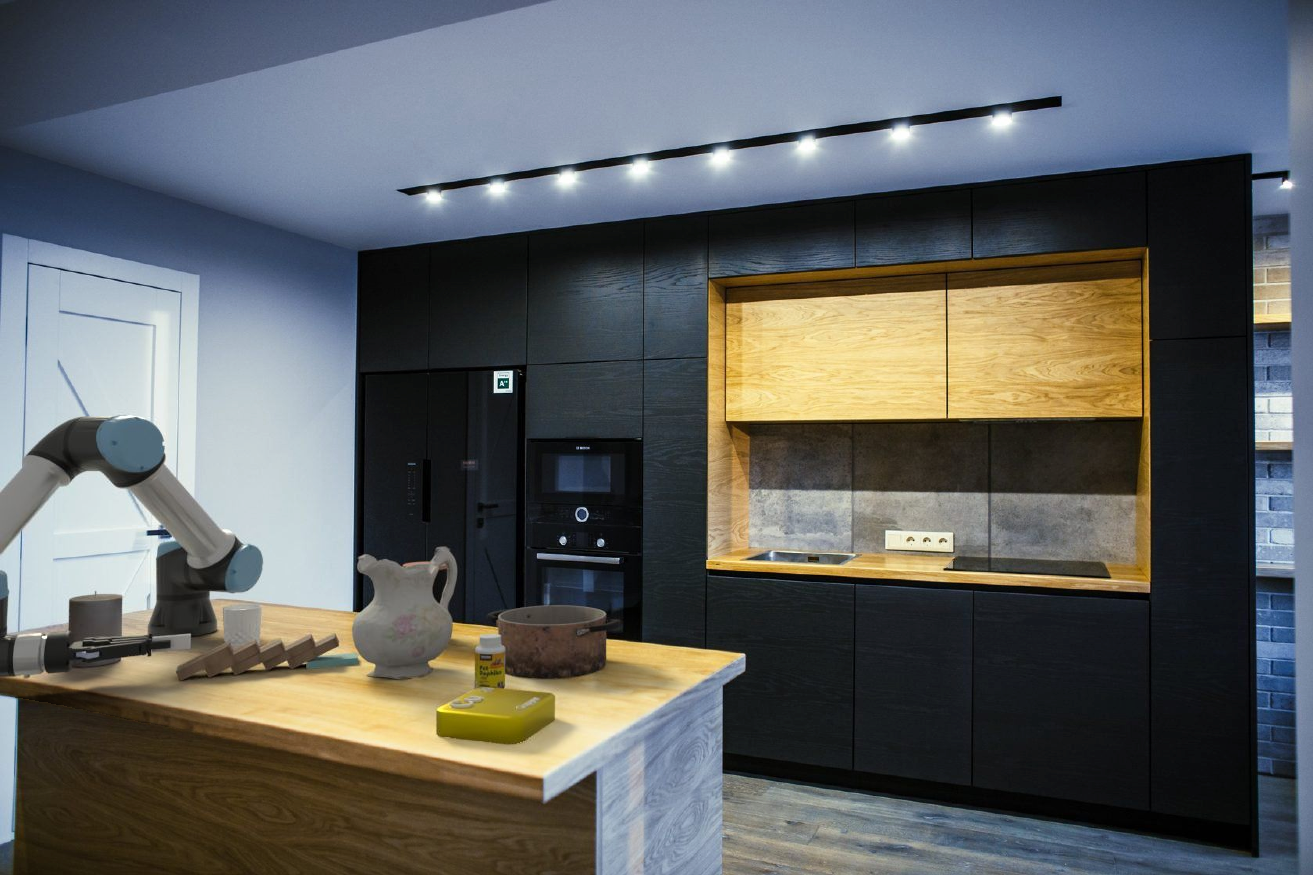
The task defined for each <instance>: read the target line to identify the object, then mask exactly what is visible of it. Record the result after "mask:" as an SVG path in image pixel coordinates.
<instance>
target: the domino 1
mask: <svg viewBox="0 0 1313 875" xmlns="http://www.w3.org/2000/svg"><path fill="white" fill-rule="evenodd" d="M233 650H234V649H233V648H232V646H231V644H230V642H229V641H228V642H226V643H225V642H224V643H222V644H220V645H217V646H216V647H213V648H211V649H210V650H208V651H206V652H204V653H202V654H200V655H198V656H196V657H193V658H191V659H190V660H188V661H186V662H183V663H182V664H179V665H178V666H177V668H176V671H175V674H176V675H177V677H178V679H179V681H180V682H181V681H183V680H186V679H187V678H190V677H191V676H192V677H193V675H195V674H198V673H199V672H201V671H203V670H204V669H205V668H207V667H209V666H211V665H213V664H215V663H217V662H219V661H221V660H223V659H225V658H227V657H229V656H231V655H233Z"/></svg>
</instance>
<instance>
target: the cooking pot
mask: <svg viewBox="0 0 1313 875" xmlns="http://www.w3.org/2000/svg"><path fill="white" fill-rule="evenodd" d="M486 618H487V620H488V621H490V622H492V623H493V624H495V623H496V624H495V626H496V627H497V631H498V632H497V634H499V635H501V645H503V646H504V647H505V675H509V676H513V677H517V678H523V679H524V678H525V679H535V680H554V679H558V680H560V679H570V678H577V677H582V676H587V675H591V674H593V673H597V672H598V671H601V670H602V669H603V668H605V666H606V664H607V631H610V630H612V629H613V630H614V629H616V628H619V627H620V626H621V623H622V621H621V619H617V618H615V619H608V620H607V613H606V611H604V610H601V609H599V608H594V607H588V606H579V605H562V604H561V605H560V604H559V605H557V604H556V605H535V606H527V607H526V606H525V607H520V608H518V607H517V608H514V609H500V610H499V609H498V610H495V611H492V612H488V613H487V615H486Z"/></svg>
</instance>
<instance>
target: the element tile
mask: <svg viewBox="0 0 1313 875" xmlns="http://www.w3.org/2000/svg"><path fill="white" fill-rule="evenodd" d="M435 720H436V722H435V723H436V724H435V727H436V731H435V732H436V736H437V735H438V736H437V737H440V738H445V737H450V738H449V739H454V738H456V739H455V740H464V741H465V740H466V741H473V742H481V741H482V743H490V742H491V744H498V743H499V744H500V745H518V744H517V743H519V744H521V743H520V742H522V743H523V741H524V742H525V741H527V740H529V739H530V738H531V737H533V736H534V735H535V734H537V733H538V732H541V730H543V729H544V728H546V727H547V726H548V725H550V724H551V723H553V722H554V721H555V720H556V696H555V694H554V693H552V692H544V691H537V690H536V691H535V690H523V689H512V688H505V689H503V688H492V687H479V688H476V689H475V688H474V689H473V690H470V691H468V692H467V693H465V694H462V695H461V696H458V697H457V698H456V697H455V699H452V700H450V701H449V702H446V703H445V704H443V705H441V706H438V708H437V709H436V719H435ZM529 737H530V738H529Z"/></svg>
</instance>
